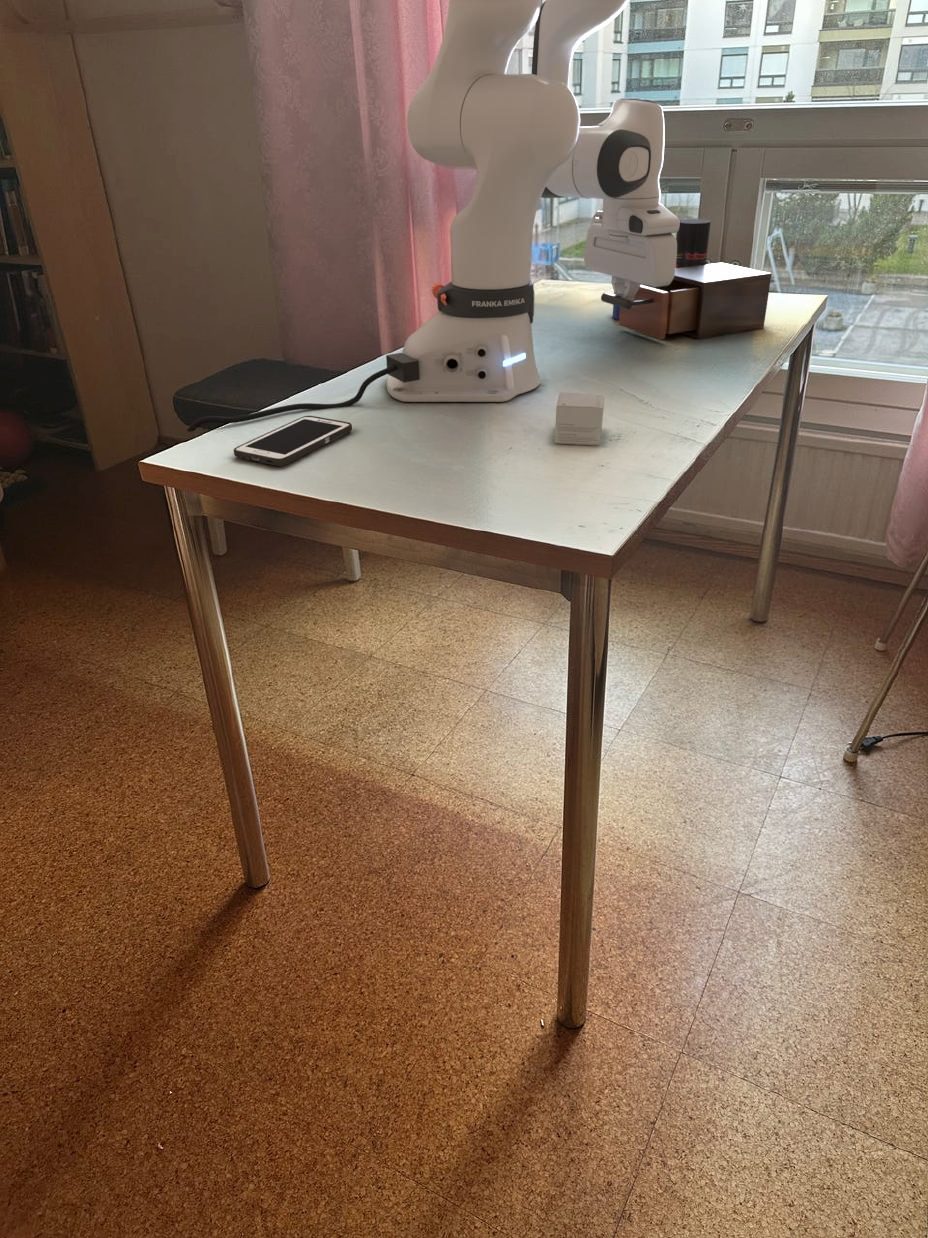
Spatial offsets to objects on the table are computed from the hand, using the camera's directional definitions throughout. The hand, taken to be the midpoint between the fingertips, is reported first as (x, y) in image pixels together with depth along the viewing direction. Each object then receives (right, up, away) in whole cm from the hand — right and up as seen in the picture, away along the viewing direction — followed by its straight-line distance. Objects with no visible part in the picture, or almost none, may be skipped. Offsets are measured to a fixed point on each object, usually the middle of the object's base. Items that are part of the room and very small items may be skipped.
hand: (624, 306), depth 151 cm
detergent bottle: (+3, +4, +17) cm, 18 cm away
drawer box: (+16, 0, +10) cm, 19 cm away
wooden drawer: (+7, -2, +5) cm, 9 cm away
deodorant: (+16, +9, +25) cm, 31 cm away
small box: (-12, -30, -38) cm, 50 cm away
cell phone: (-48, -30, -38) cm, 68 cm away
